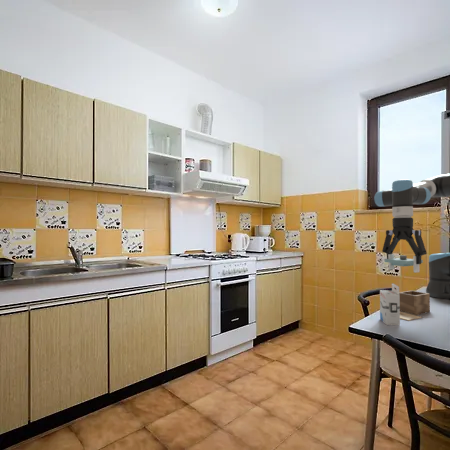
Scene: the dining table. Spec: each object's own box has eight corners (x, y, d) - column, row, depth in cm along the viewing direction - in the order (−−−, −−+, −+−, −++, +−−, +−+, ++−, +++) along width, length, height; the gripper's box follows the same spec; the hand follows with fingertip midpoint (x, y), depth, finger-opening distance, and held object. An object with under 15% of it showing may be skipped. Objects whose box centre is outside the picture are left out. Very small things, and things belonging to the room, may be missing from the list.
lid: (399, 263, 135) (399, 254, 135) (422, 265, 126) (422, 255, 126) (384, 264, 131) (384, 255, 131) (407, 267, 122) (407, 257, 122)
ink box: (379, 318, 125) (379, 282, 126) (392, 319, 124) (392, 282, 125) (386, 325, 117) (385, 286, 117) (400, 326, 116) (399, 286, 116)
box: (411, 307, 142) (411, 290, 142) (429, 311, 135) (429, 293, 135) (398, 310, 137) (397, 292, 138) (416, 315, 130) (415, 296, 130)
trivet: (400, 312, 134) (400, 311, 134) (421, 317, 126) (421, 316, 126) (387, 315, 130) (387, 314, 130) (408, 320, 122) (408, 319, 122)
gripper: (372, 218, 137) (373, 268, 137) (425, 216, 117) (426, 274, 117) (383, 218, 141) (384, 267, 140) (436, 216, 121) (437, 273, 120)
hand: (403, 270), depth 129 cm, fingers closed on lid, 10 cm apart
